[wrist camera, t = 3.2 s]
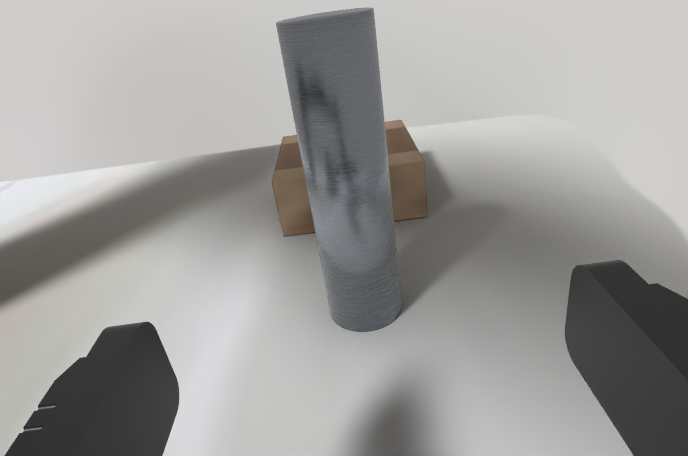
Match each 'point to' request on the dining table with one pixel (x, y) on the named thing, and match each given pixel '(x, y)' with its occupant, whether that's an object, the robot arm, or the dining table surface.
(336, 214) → the rod
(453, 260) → the dining table surface
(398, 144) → the wooden square socket block
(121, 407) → the robot arm
